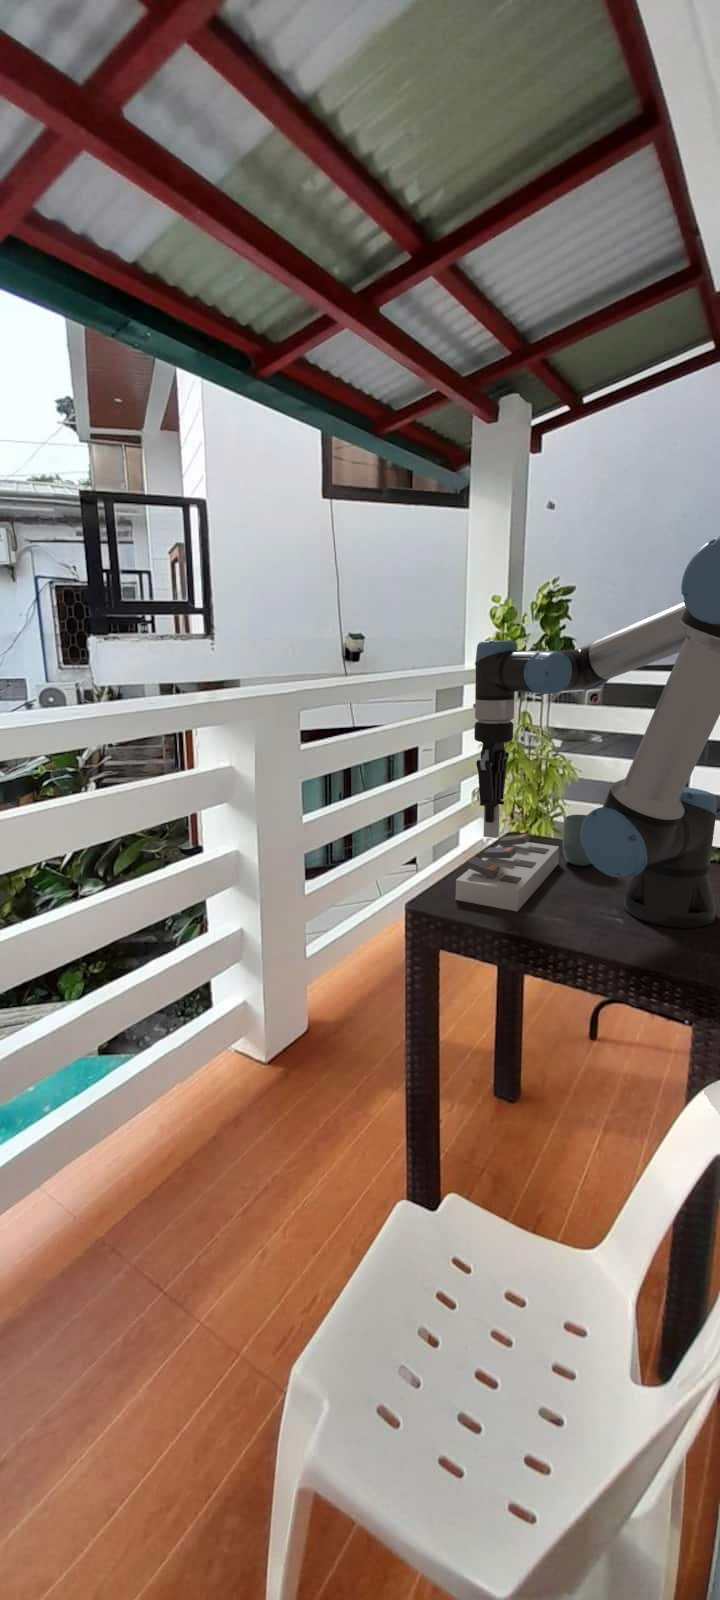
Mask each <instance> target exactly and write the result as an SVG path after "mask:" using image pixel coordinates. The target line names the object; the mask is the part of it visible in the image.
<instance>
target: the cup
mask: <svg viewBox="0 0 720 1600" xmlns="http://www.w3.org/2000/svg"><path fill="white" fill-rule="evenodd" d="M587 815H588V814H569V815H566V816H565V817H564V819H563V826H562V827H563V828H562V830H563V831H562V852H563V856H564V859H565V861H567V863H569V864H571V865H575V866H579V867H585V866H590V865H593V864H592V863H591V862H590V860H589V859H588V858H587V856H586V854H585V849H584V848H583V847H582V843H581V837H580V832H581V826H582V823H583V821H584V819H585V817H586V816H587Z"/></svg>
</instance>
